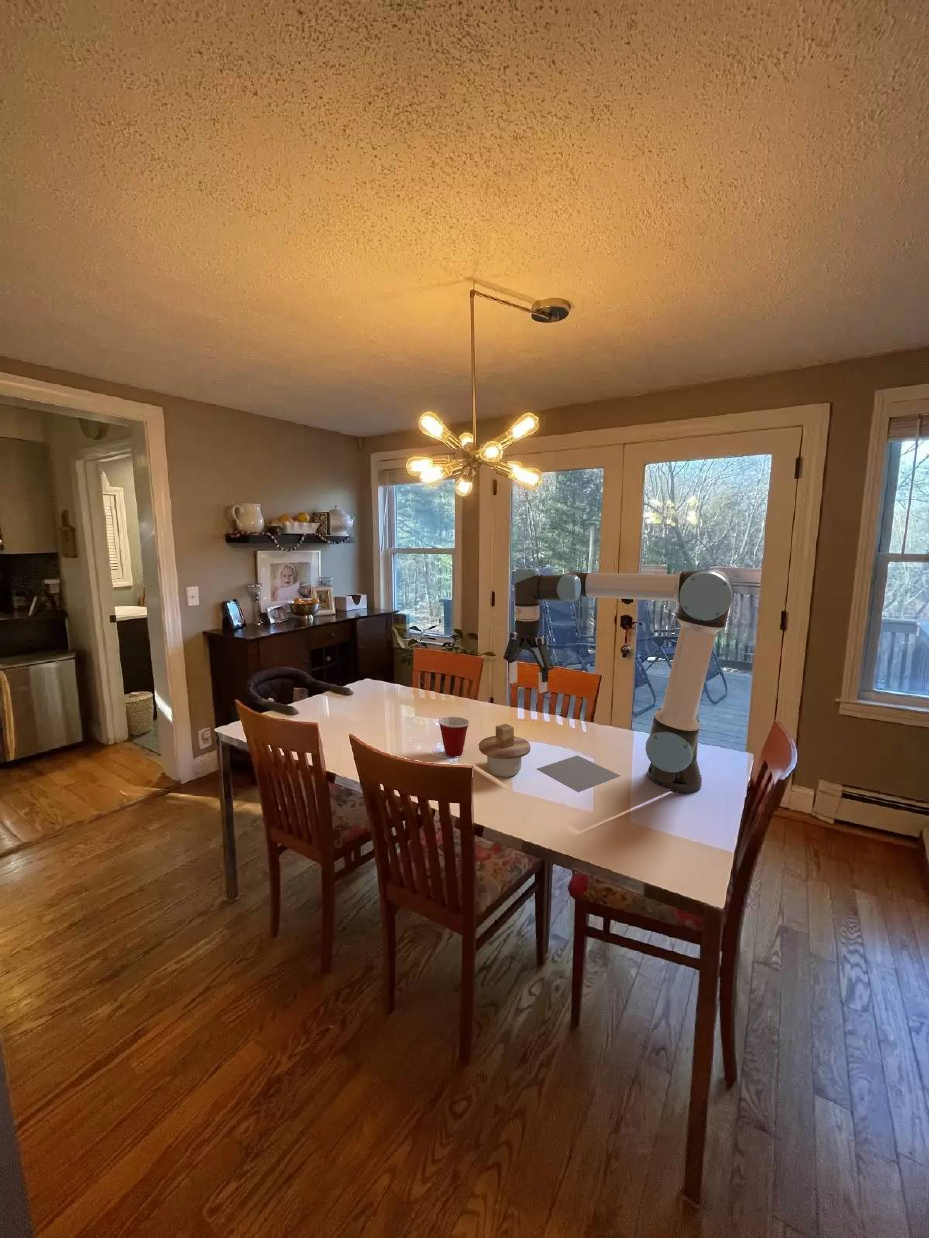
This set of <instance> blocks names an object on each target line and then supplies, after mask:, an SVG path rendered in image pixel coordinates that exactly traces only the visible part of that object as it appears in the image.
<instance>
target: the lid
mask: <svg viewBox="0 0 929 1238" xmlns="http://www.w3.org/2000/svg"><path fill="white" fill-rule="evenodd" d="M478 750H479V752H480V753H482V754H483V755H485V756H486V757H487V756H489V757H493V758H498V759H515V758H520V757H521V758H522V757H524V756H527V755H529V753H530V752H531V744H530V742H529V741H527V740H526V739H524V738H521V737H519V736H515V729H514V726H512V725H510V724H508V723H503V724H499V725H495V735H492V736H489V737H488V736H487V737H485V738H483V739H482V740H480V741H479V744H478Z"/></svg>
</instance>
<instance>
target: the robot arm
mask: <svg viewBox="0 0 929 1238" xmlns="http://www.w3.org/2000/svg"><path fill="white" fill-rule="evenodd" d="M513 585H514V587H513V589H514V592H513V593H514V631H515V632H509V640H508V643H507V646H506V649H505V651H504V655H503V659H504V660H505V661H507V665H508V676H509V677H508V678H509V679H508V681H509V684H516V683H518V662H517V659H518V657H519V655H520V654H521V653H522V651H523V650H526V651H528V652H530V653H531V655H532V656H533V658H534V660H535V662H536V664H537V666H538V667H539V669H540V670H538V693H539V694H542V693H545V692H548V681H549V671H552V670H554V669H555V667H554V664H553V661H552V658H551V655H550V652H549V649H548V646H547V639H546V637H545V636H543V637H539V636H538V633H539V632H540V621H541V620H539V619H540V617H541V615H540V614H541V613H540V605H541V604H540V601H556V602H565V603H567V602H576V601H578V600H579V598H599V599H600V598H604V599H606V598H607V599H625V600H626V599H627V600H647V601H667V602H669V601H670V602H675V603H676V604H677V605H678V608H677V609H678V610H677V612H676V613H677V615H676V617H675V618H676V620H677V621H678V623H679V625H680V628H679V633H678V636H677V642H676V645H675V649H674V650H675V651H674V654H673V660H672V664H671V668H670V673H669V677H668V681H667V684H666V690H665V694H664V699H663V703H662V705H659V706H658V707H657V708H656V709H657V710H656V712H654V715H653V720H652V725H651V729H650V734H649V737H648V738H647V740H645V741H646V742H645V754H646V757H647V758H648V760H649V761H650V764H649V765H648V769H647V778H648V779H649V780H650V781H651V782H652V783H654V784H655V785H657V786H659V787H661V788H665V789H669V792H672V793H679V794H688V793H689V794H690V793H695V792H697V791H699V790H700V789H701V788H702V782H703V779H702V775H701V771H700V767H699V765H698V764H699V763H698V760H697V759H698V747H699V746H698V744H699V742H698V741H699V731H700V728H701V725H700V722H701V719H700V713H699V711H698V710H699V705H700V701H701V697H702V693H703V689H704V686H705V682H706V677H707V673H708V669H709V664H710V661H711V658H712V653H713V650H714V649H713V648H714V646H715V641H716V636H717V634H718V633H719V632H720V631H722V630H723V629H725V627H726V624H727V620H728V615H729V612H730V608H731V605H732V602H733V598H734V590H735V588H734V584H733V581H732V579H731V578H730V576H729V575H728V574H727V573H725V572H724V571H721V570H719V569H717V568H704V569H698V570H679V572H677V573H676V574H675V573H674V574H667V573H629V572H627V573H624V572H623V573H622V572H621V573H619V572H617V573H616V572H580V571H570V572H566V573H562V574H541V572H540V569H539V568H536V567H523V568H522V567H521V568H520V567H519V568H517V569H516V570H514V579H513Z"/></svg>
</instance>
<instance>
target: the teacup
mask: <svg viewBox="0 0 929 1238" xmlns="http://www.w3.org/2000/svg"><path fill="white" fill-rule="evenodd" d="M486 761H487V767H488V771H489V772H490V773H491V774H492V775H494V776H496V777H500V778H510V777H513V776H515V775H517V774H518V773H520V771H521V768H522V757H520V758H515V759H498V758H493V757H489V756H486Z"/></svg>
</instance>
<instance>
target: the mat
mask: <svg viewBox="0 0 929 1238" xmlns="http://www.w3.org/2000/svg"><path fill="white" fill-rule="evenodd" d="M536 770H538V771H540V772H541V773H543V774H545V775H547V776H549V778H551V779H553V780H556V781H557V782H559V783H561V784H563V785H564V786H566V787H568V788H569V789H572V790H574V791H576V792H577V793H580V792H582V791H585V790H587V789H591V788H592V787H596V786H599V785H601V784H604V783H606V782H608V781H611V780H613V779H616V778H620V777H621V775H620V774H618V773H616V772H614V771H611V770H610V769H608V768H605V767H603V766H601V765H599V764H597V763H594V762H593V761H590V760H589V759H586V758H584V757H582V756H580V755H574V756H570V757H568V758H565V759H562V760H559V761H555V762H552V763H550V764H547V765H543V766H541V767H537V768H536Z"/></svg>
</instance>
